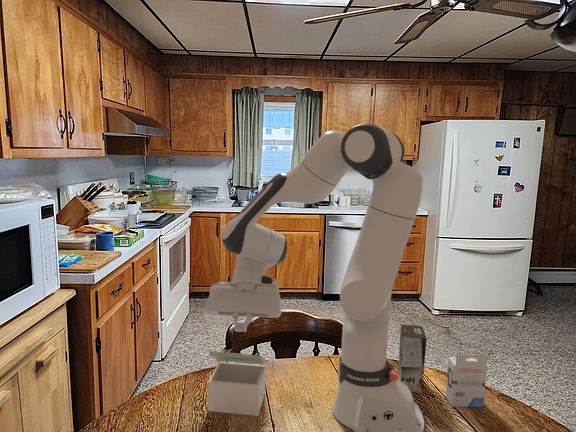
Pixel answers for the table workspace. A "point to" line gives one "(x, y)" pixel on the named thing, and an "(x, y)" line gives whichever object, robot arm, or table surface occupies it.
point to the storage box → (237, 388)
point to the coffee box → (412, 357)
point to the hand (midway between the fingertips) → (240, 330)
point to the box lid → (238, 358)
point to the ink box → (466, 380)
